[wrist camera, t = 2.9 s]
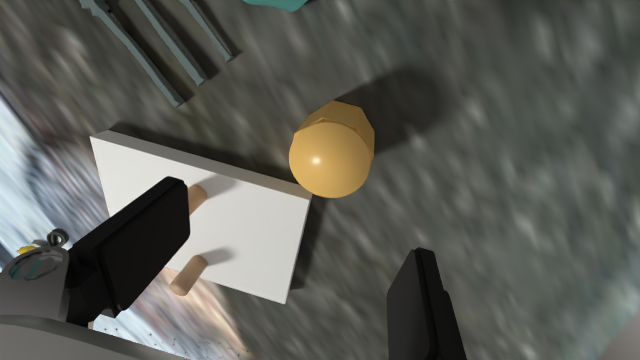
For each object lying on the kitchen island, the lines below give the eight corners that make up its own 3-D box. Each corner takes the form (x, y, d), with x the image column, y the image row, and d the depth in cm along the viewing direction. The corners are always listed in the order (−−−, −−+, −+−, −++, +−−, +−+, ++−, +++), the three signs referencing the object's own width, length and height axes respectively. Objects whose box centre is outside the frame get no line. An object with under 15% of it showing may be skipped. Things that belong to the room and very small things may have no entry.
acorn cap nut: (381, 112, 22) (382, 136, 17) (360, 172, 24) (356, 207, 20) (313, 94, 22) (295, 112, 17) (301, 155, 25) (283, 185, 20)
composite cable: (58, 224, 37) (39, 236, 35) (86, 248, 39) (69, 261, 37) (27, 243, 41) (8, 255, 39) (54, 264, 43) (37, 277, 41)
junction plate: (313, 189, 26) (298, 227, 21) (289, 290, 34) (273, 336, 29) (107, 129, 27) (45, 152, 22) (131, 241, 36) (89, 277, 30)
